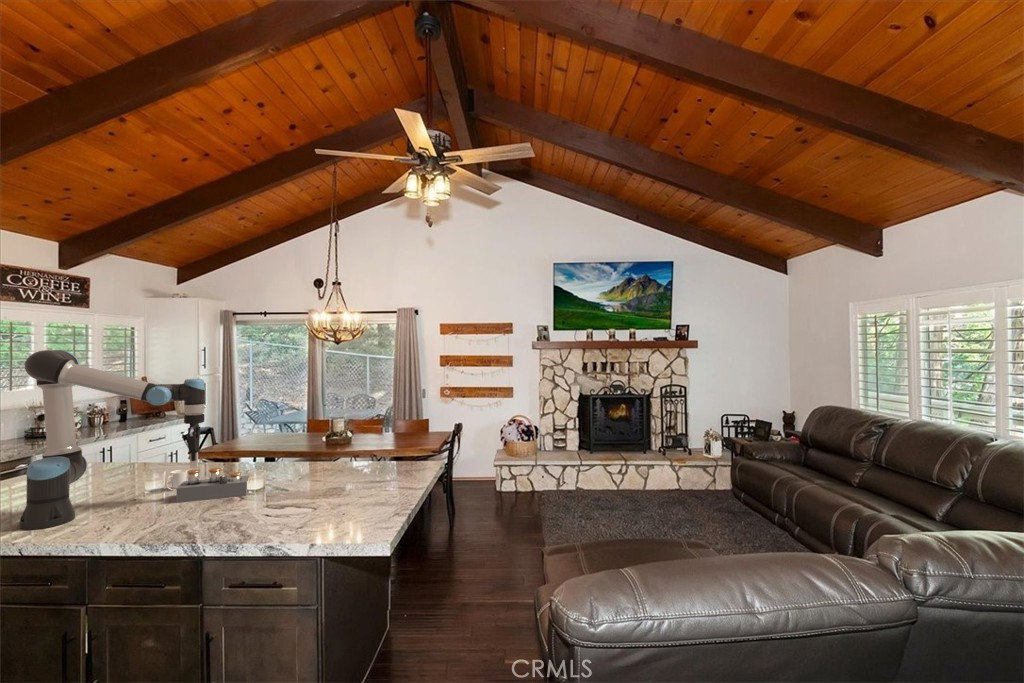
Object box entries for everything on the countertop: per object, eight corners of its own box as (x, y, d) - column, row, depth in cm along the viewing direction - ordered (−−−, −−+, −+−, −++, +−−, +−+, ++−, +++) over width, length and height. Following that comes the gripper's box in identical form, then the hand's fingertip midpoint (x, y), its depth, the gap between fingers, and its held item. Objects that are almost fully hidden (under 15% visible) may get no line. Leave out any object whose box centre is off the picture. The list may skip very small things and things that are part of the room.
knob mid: (218, 485, 213) (218, 470, 213) (206, 485, 212) (207, 470, 212) (222, 482, 217) (222, 467, 217) (210, 482, 216) (211, 468, 216)
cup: (191, 487, 228) (191, 469, 228) (172, 493, 218) (172, 475, 218) (178, 486, 229) (179, 469, 229) (159, 492, 219) (159, 474, 219)
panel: (249, 488, 225) (249, 475, 225) (246, 495, 214) (246, 481, 214) (183, 494, 215) (183, 481, 215) (176, 502, 204) (176, 488, 204)
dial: (225, 483, 211) (225, 476, 211) (218, 484, 210) (218, 477, 210) (228, 482, 214) (228, 475, 214) (221, 482, 213) (221, 475, 213)
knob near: (197, 487, 210) (197, 471, 210) (185, 487, 209) (185, 472, 209) (201, 484, 214) (201, 469, 214) (189, 484, 213) (190, 469, 213)
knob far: (239, 489, 216) (239, 474, 216) (227, 489, 215) (228, 475, 215) (242, 486, 220) (242, 472, 221) (231, 487, 219) (231, 472, 220)
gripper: (201, 415, 208) (200, 470, 207) (207, 411, 220) (206, 463, 219) (180, 416, 205) (180, 471, 204) (187, 412, 217) (187, 465, 216)
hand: (193, 467), depth 212 cm, fingers closed
